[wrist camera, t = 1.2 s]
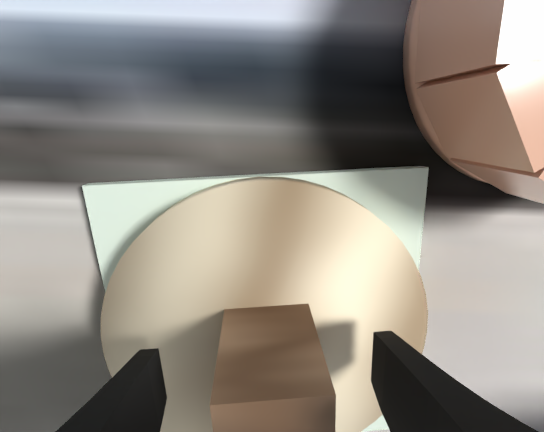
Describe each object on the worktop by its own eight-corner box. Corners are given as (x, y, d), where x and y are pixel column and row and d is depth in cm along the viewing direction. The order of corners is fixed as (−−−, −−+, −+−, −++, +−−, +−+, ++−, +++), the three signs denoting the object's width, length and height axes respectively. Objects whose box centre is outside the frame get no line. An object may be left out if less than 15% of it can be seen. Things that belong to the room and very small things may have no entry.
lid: (428, 167, 11) (557, 202, 7) (403, 427, 15) (475, 575, 10) (82, 185, 11) (-54, 237, 6) (139, 450, 14) (82, 616, 9)
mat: (421, 165, 12) (428, 167, 11) (398, 418, 15) (403, 428, 15) (89, 183, 11) (81, 185, 11) (143, 440, 15) (139, 450, 14)
